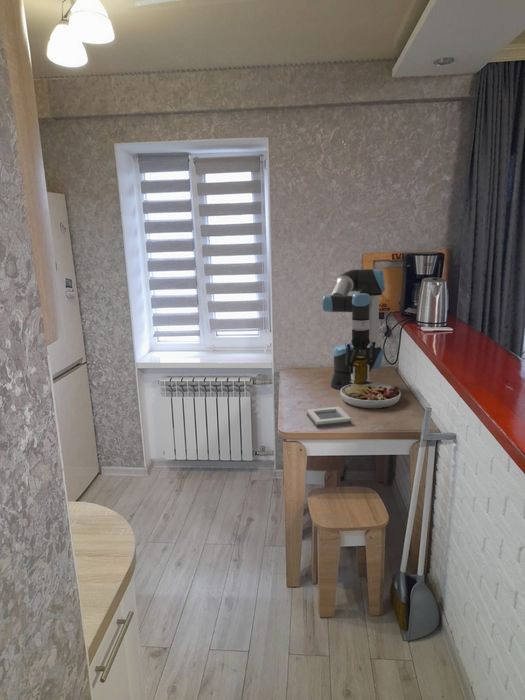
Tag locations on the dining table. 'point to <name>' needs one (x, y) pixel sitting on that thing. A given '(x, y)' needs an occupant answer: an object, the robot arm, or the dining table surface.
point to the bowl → (370, 395)
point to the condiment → (360, 371)
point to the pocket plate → (328, 417)
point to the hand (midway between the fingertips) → (359, 379)
